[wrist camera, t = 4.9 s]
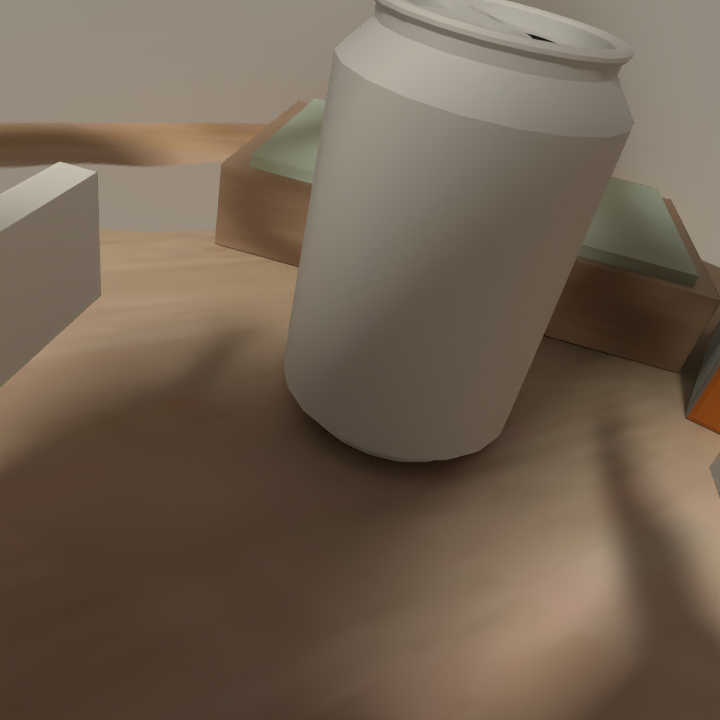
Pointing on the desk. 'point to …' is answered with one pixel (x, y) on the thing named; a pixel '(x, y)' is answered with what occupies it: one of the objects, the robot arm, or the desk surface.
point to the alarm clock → (707, 388)
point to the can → (447, 217)
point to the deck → (585, 282)
